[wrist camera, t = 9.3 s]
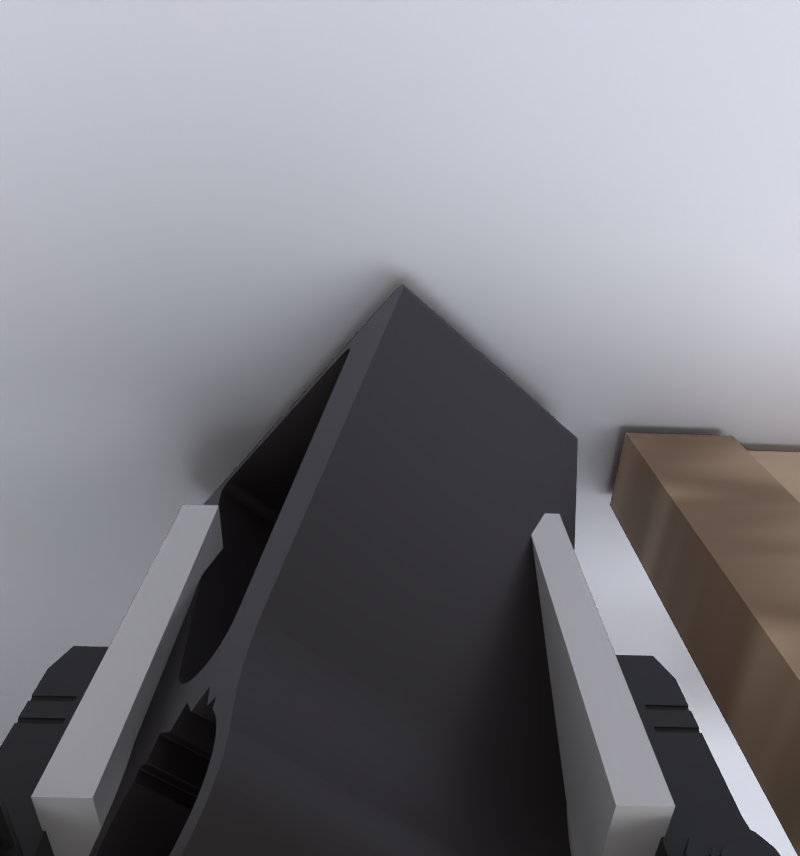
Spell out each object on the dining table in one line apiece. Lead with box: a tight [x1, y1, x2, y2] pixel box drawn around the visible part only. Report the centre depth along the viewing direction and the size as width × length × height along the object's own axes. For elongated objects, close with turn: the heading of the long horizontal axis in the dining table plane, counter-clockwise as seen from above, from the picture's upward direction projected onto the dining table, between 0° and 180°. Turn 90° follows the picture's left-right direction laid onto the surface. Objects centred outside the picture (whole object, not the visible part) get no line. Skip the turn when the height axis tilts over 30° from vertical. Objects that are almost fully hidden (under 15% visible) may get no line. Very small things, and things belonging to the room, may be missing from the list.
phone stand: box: [89, 285, 578, 856], centre depth 12 cm, size 9×6×12 cm, turn 138°
